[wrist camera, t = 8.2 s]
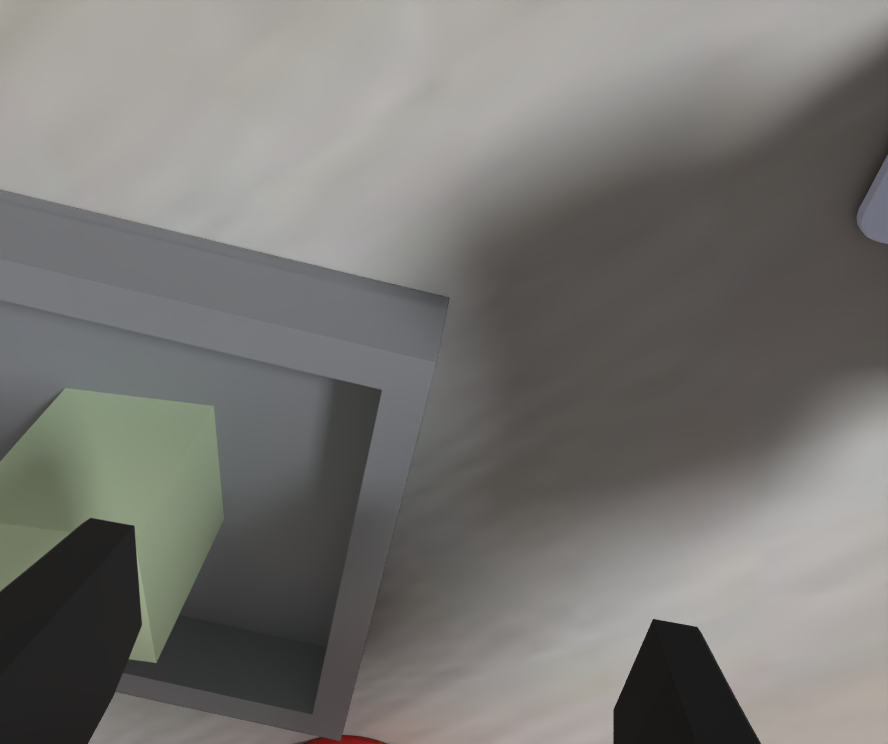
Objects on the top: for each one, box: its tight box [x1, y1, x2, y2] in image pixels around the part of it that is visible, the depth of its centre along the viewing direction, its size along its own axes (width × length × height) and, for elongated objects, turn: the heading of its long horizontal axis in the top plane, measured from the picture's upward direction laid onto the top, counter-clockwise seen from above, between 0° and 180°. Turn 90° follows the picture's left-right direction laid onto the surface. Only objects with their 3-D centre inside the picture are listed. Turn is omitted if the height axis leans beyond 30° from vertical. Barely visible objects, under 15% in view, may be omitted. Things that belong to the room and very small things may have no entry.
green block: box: [0, 388, 224, 663], centre depth 20 cm, size 4×4×5 cm
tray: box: [0, 190, 449, 741], centre depth 22 cm, size 14×14×3 cm
